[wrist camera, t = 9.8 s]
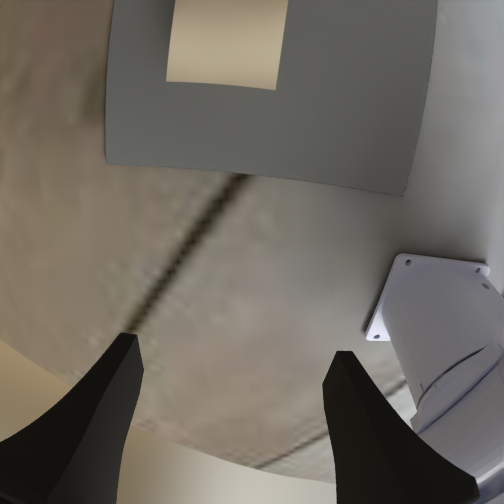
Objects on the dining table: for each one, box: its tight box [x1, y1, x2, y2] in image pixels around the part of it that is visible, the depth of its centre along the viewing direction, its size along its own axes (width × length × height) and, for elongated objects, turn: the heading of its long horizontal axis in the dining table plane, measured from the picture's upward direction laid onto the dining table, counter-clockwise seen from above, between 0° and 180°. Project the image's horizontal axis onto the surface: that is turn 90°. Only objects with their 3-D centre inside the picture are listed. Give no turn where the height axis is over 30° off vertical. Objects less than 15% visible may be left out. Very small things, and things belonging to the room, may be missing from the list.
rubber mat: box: [105, 0, 437, 197], centre depth 14 cm, size 18×16×1 cm
